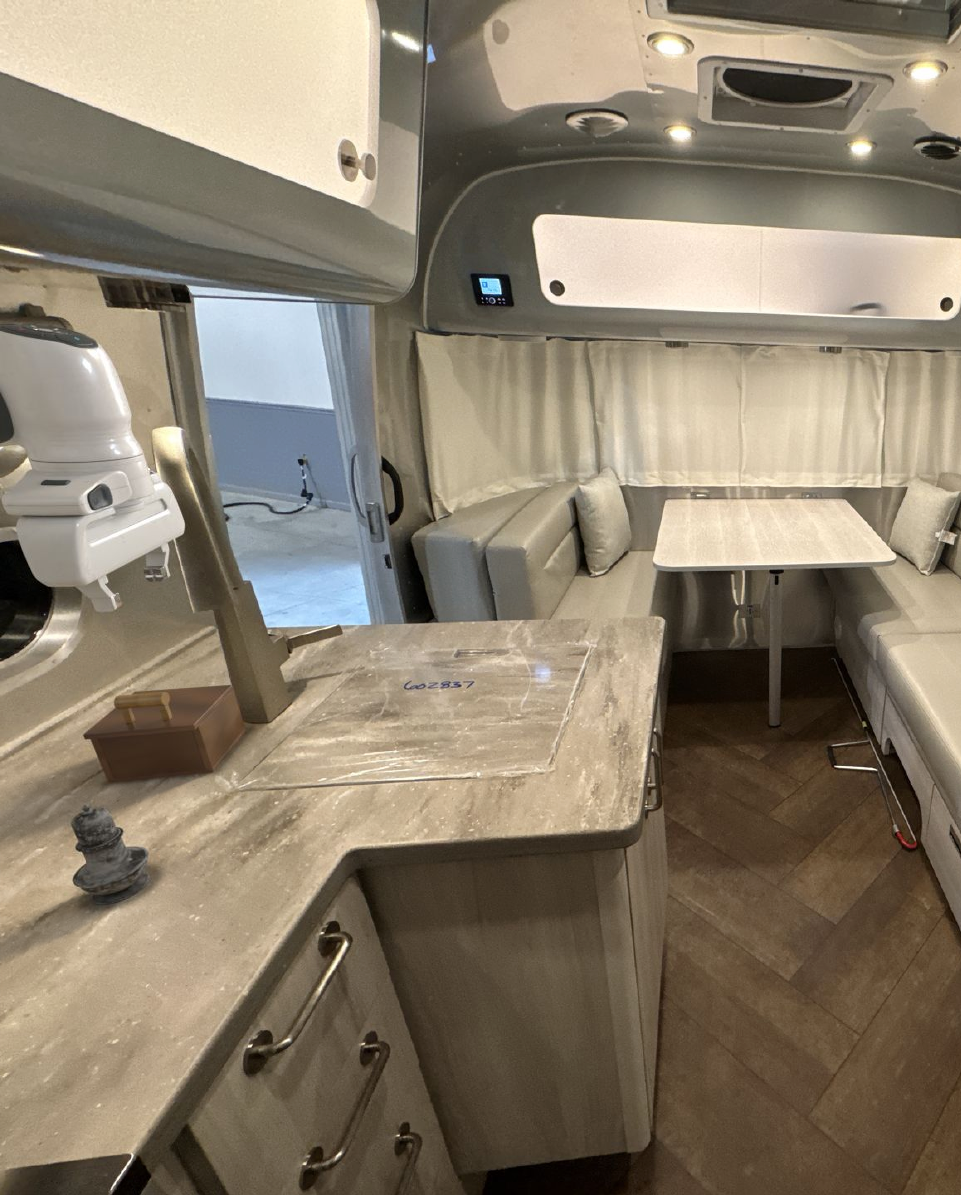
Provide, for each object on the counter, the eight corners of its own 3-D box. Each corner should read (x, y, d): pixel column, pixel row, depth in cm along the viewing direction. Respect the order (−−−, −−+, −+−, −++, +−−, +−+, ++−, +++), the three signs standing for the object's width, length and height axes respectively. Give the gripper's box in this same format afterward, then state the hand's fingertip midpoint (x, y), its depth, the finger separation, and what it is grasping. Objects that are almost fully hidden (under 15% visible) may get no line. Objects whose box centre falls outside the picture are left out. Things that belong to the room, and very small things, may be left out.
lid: (195, 730, 86) (185, 699, 84) (84, 739, 82) (71, 708, 81) (233, 689, 95) (225, 660, 94) (136, 696, 92) (125, 667, 90)
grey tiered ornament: (69, 904, 69) (26, 817, 65) (132, 864, 75) (98, 781, 70) (110, 918, 68) (70, 830, 64) (172, 876, 73) (139, 793, 69)
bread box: (214, 773, 90) (198, 727, 87) (108, 784, 86) (88, 736, 83) (246, 733, 98) (233, 689, 96) (152, 741, 95) (136, 696, 92)
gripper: (121, 462, 80) (155, 565, 85) (-15, 503, 62) (38, 631, 67) (183, 463, 82) (212, 564, 87) (68, 503, 64) (113, 628, 69)
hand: (135, 594), depth 77 cm, fingers open, 8 cm apart
